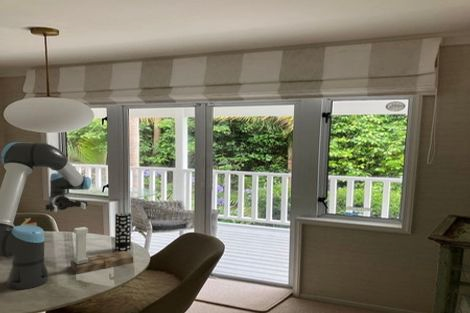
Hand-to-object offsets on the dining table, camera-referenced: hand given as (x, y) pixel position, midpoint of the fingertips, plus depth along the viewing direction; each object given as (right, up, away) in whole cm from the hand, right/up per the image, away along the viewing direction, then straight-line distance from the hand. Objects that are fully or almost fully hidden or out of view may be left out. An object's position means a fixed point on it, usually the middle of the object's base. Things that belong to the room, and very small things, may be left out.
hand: (71, 208), depth 177 cm
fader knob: (+11, -23, -14) cm, 29 cm away
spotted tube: (+21, -26, +17) cm, 38 cm away
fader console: (+19, -27, -8) cm, 34 cm away
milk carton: (-25, -26, +6) cm, 36 cm away
